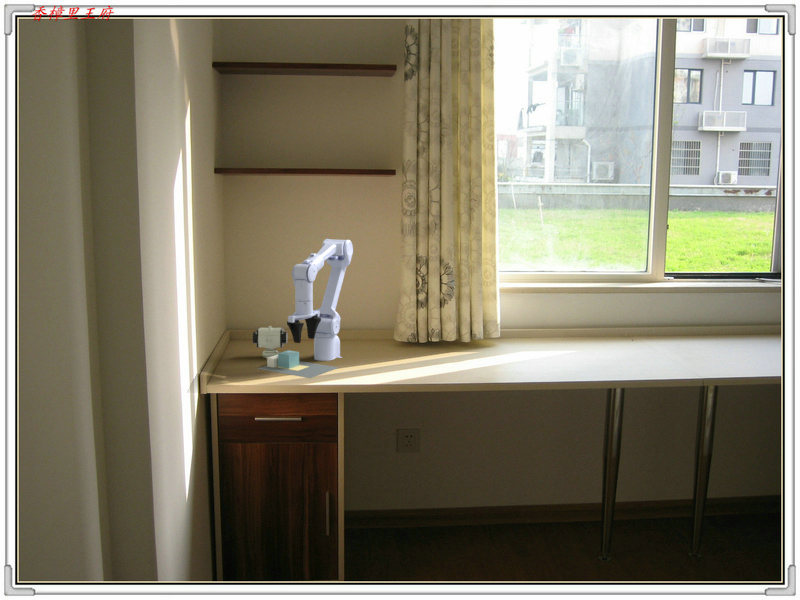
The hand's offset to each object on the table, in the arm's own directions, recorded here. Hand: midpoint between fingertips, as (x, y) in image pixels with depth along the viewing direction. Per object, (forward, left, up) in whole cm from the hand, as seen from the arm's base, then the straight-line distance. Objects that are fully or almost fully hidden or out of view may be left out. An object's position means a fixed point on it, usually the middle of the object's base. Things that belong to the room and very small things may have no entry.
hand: (304, 340), depth 231 cm
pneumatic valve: (-5, -19, -10) cm, 22 cm away
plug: (+2, -5, -9) cm, 11 cm away
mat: (+2, -1, -10) cm, 10 cm away
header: (+2, -8, -9) cm, 12 cm away
